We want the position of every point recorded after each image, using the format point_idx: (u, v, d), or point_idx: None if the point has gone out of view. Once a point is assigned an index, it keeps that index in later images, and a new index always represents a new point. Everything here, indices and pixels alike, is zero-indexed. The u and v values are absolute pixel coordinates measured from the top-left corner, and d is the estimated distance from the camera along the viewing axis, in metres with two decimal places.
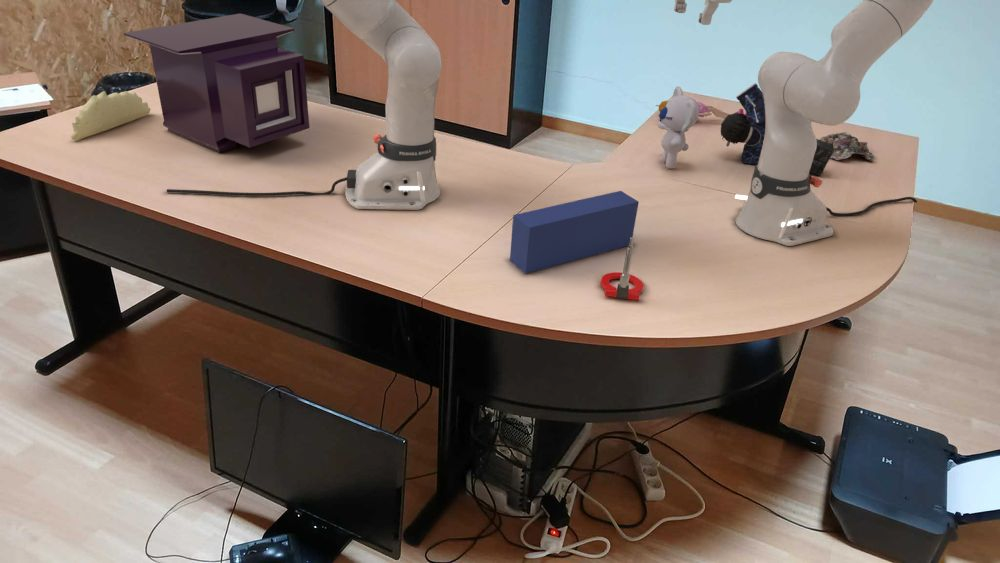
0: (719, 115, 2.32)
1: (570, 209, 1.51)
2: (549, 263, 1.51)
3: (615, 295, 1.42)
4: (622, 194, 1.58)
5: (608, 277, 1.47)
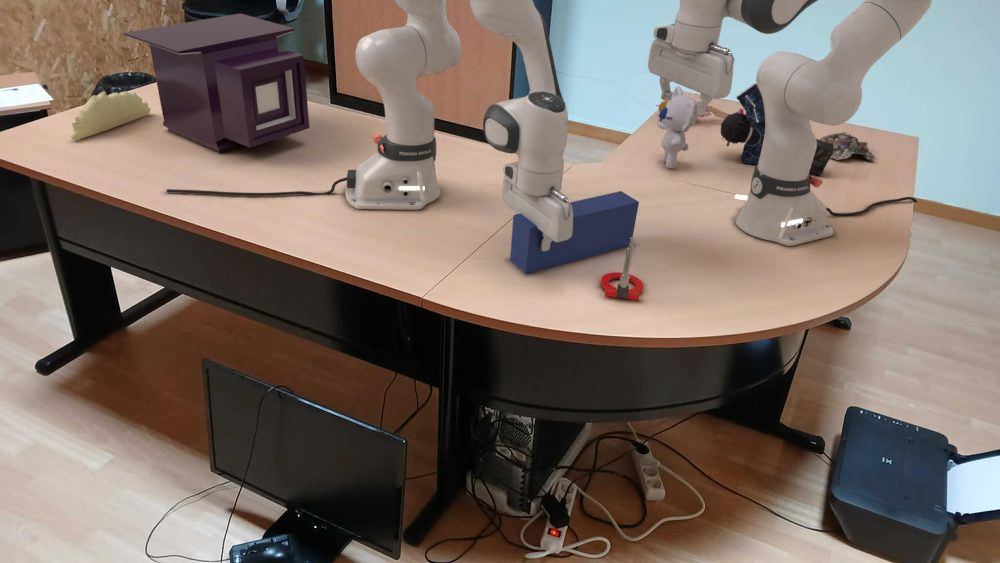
0: (719, 115, 2.32)
1: None
2: (549, 263, 1.51)
3: (615, 295, 1.42)
4: (622, 194, 1.58)
5: (608, 277, 1.47)
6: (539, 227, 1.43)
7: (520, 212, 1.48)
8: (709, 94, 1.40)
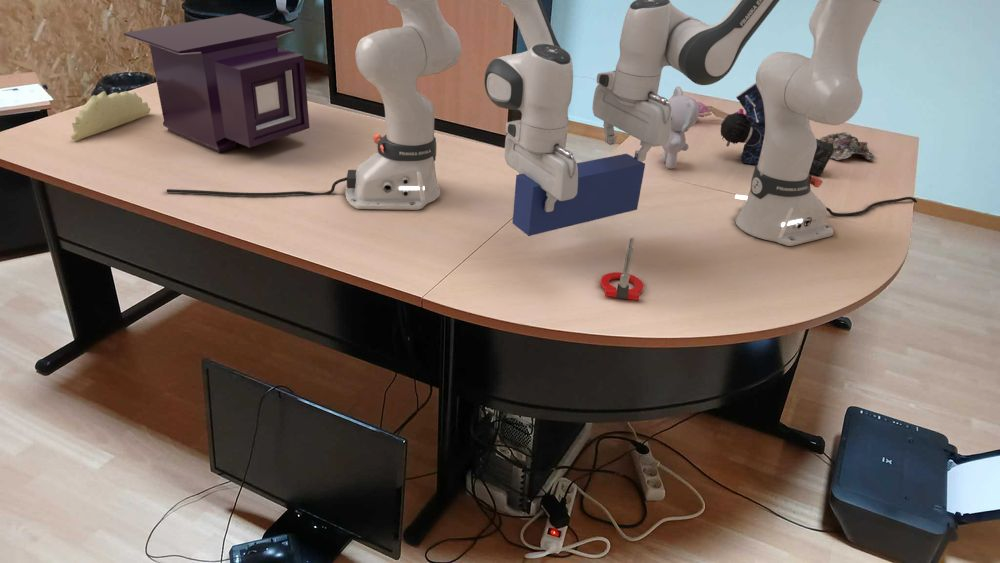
0: (719, 115, 2.32)
1: None
2: (553, 226, 1.46)
3: (615, 295, 1.42)
4: (628, 157, 1.54)
5: (608, 277, 1.47)
6: (543, 186, 1.38)
7: (523, 172, 1.43)
8: (648, 142, 1.42)
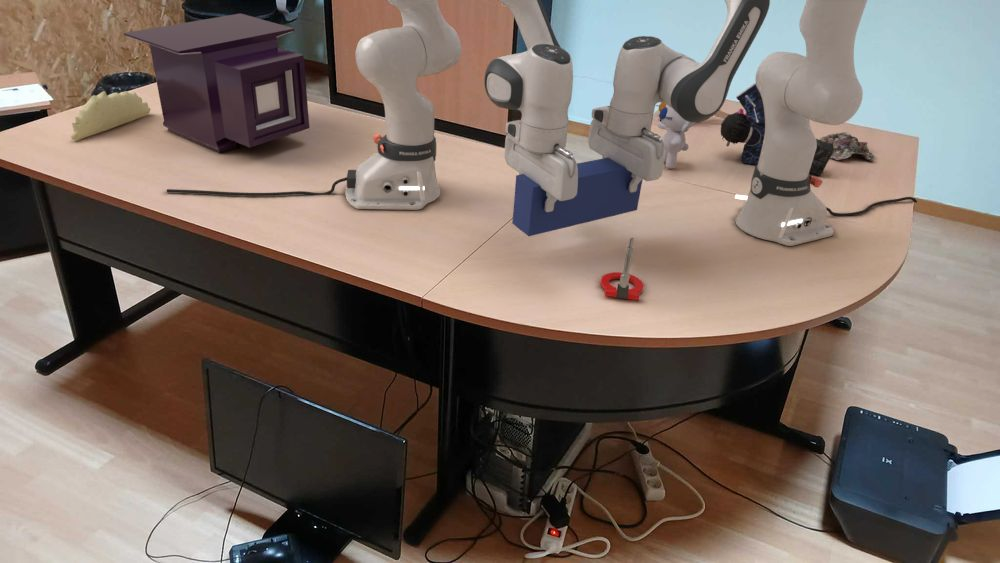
0: (719, 115, 2.32)
1: None
2: (553, 226, 1.46)
3: (615, 295, 1.42)
4: None
5: (608, 277, 1.47)
6: (543, 186, 1.38)
7: (523, 172, 1.43)
8: (642, 176, 1.45)
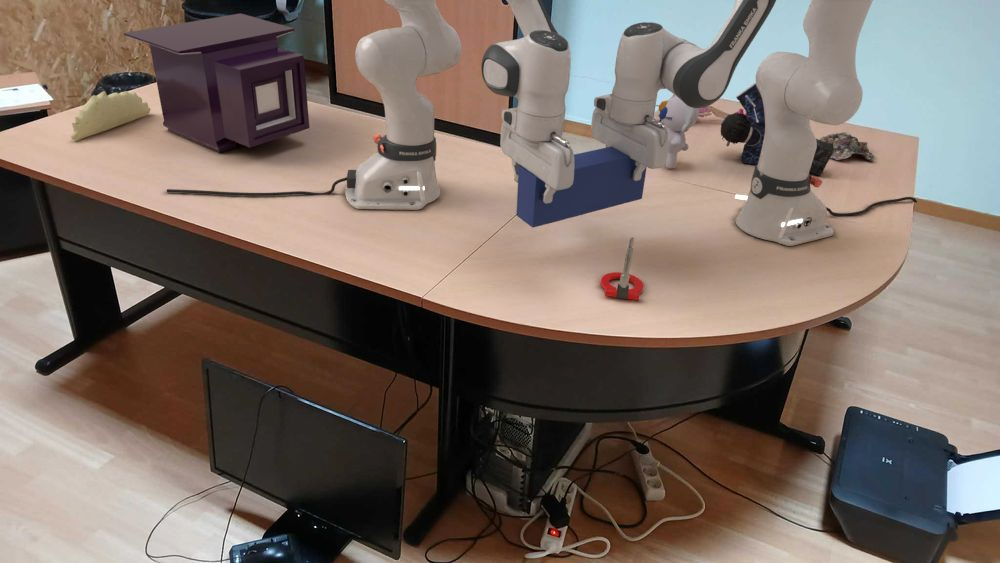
0: (719, 115, 2.32)
1: (578, 160, 1.45)
2: (557, 217, 1.45)
3: (615, 295, 1.42)
4: None
5: (608, 277, 1.47)
6: (539, 175, 1.37)
7: (519, 160, 1.41)
8: (646, 164, 1.44)
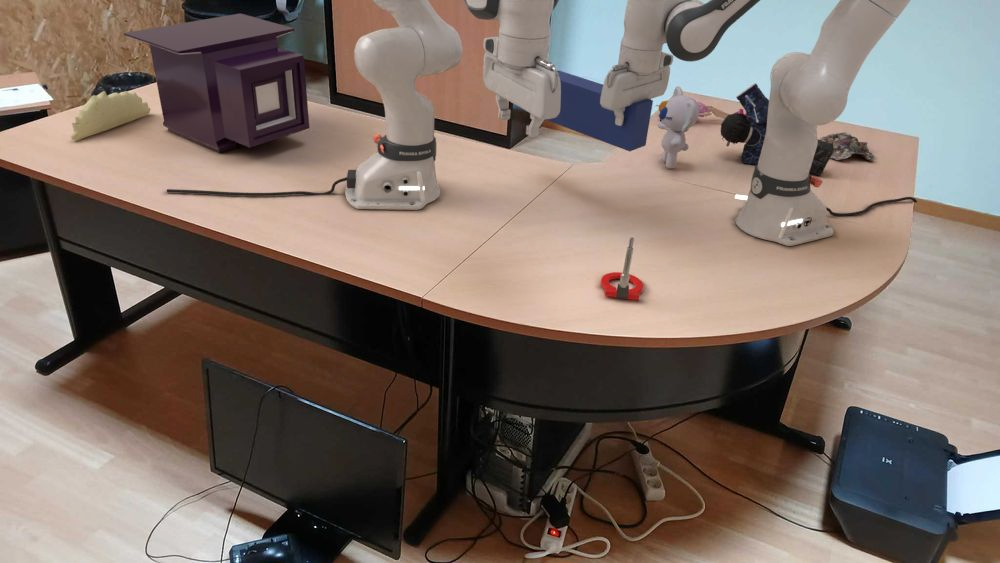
0: (719, 115, 2.32)
1: (589, 84, 1.70)
2: (556, 119, 1.76)
3: (615, 295, 1.42)
4: (644, 100, 1.62)
5: (608, 277, 1.47)
6: (523, 105, 1.27)
7: (502, 93, 1.32)
8: None
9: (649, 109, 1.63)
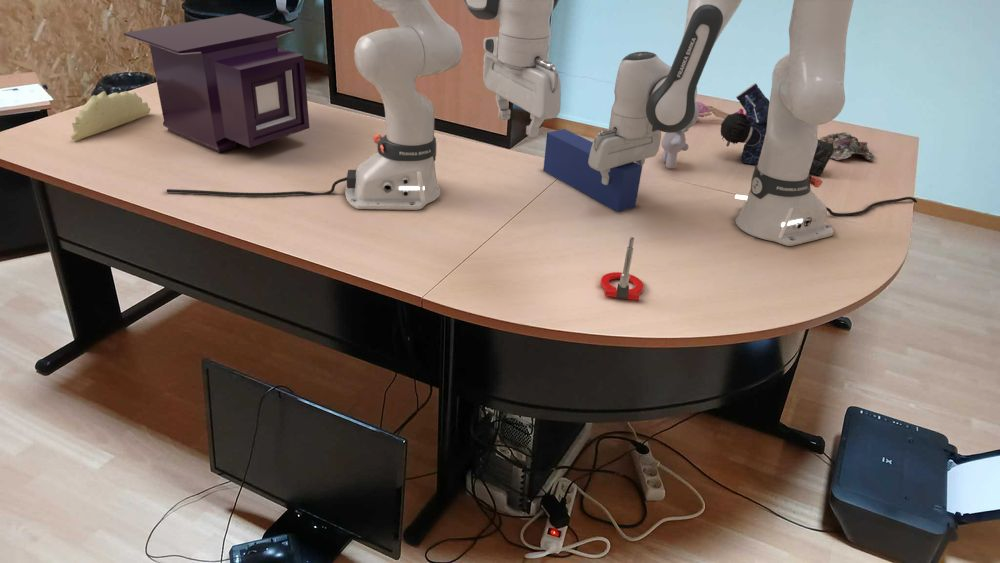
0: (719, 115, 2.32)
1: (588, 146, 1.82)
2: (557, 175, 1.89)
3: (615, 295, 1.42)
4: (634, 165, 1.73)
5: (608, 277, 1.47)
6: (523, 105, 1.27)
7: (502, 93, 1.32)
8: None
9: (638, 174, 1.73)
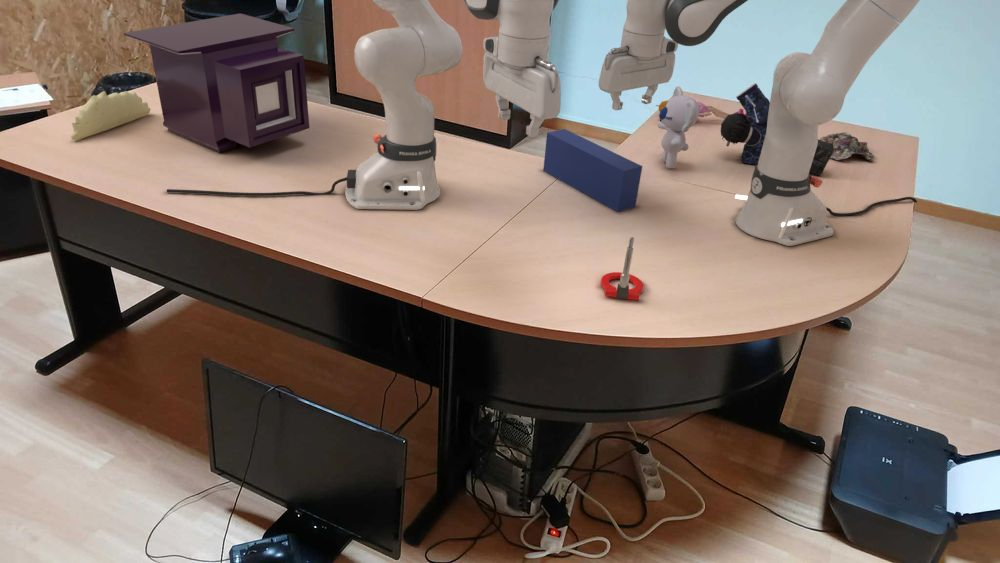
0: (719, 115, 2.32)
1: (588, 146, 1.82)
2: (557, 175, 1.89)
3: (615, 295, 1.42)
4: (634, 165, 1.73)
5: (608, 277, 1.47)
6: (523, 105, 1.27)
7: (502, 93, 1.32)
8: None
9: (638, 174, 1.73)
